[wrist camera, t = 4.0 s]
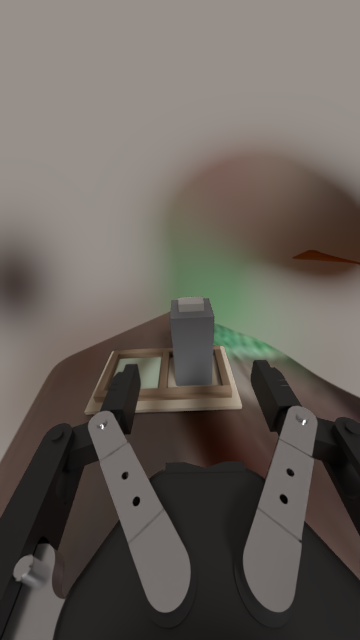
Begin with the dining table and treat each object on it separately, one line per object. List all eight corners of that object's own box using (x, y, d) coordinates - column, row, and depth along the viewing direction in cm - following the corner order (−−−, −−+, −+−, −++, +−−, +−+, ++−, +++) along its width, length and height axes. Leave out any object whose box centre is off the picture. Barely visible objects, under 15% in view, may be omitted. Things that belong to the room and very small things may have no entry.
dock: (223, 348, 35) (224, 340, 34) (241, 408, 25) (243, 399, 24) (113, 353, 36) (110, 346, 35) (85, 414, 25) (81, 405, 25)
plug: (207, 360, 32) (208, 291, 26) (212, 384, 28) (214, 308, 22) (176, 361, 32) (171, 293, 26) (176, 386, 28) (169, 311, 22)
